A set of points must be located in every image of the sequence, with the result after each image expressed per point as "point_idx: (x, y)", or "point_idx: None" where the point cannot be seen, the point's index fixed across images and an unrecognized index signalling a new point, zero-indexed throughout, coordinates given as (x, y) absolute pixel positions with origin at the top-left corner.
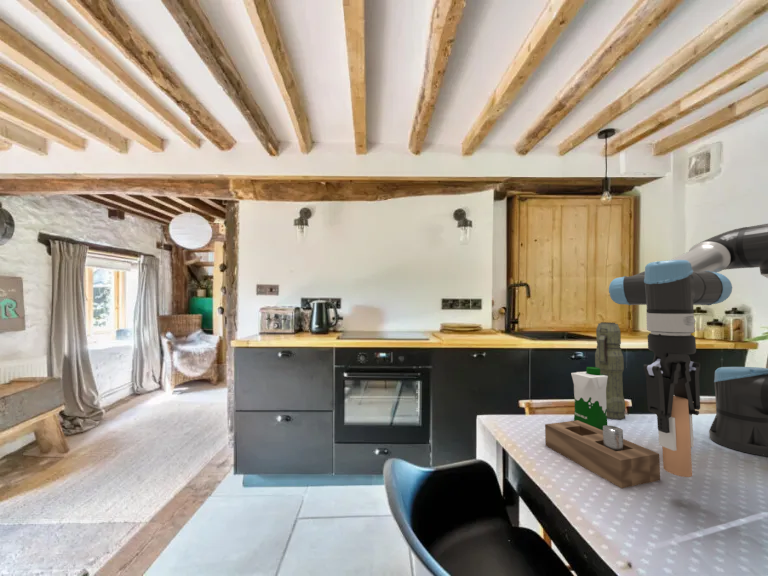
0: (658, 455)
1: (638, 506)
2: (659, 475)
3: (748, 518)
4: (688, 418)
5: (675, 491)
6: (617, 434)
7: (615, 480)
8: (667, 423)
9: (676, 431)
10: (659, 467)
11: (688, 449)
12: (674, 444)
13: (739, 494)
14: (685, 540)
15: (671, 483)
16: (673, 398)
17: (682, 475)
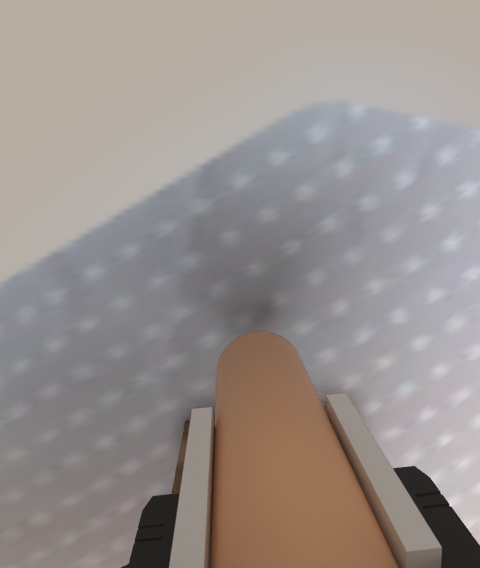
0: (177, 488)
1: (363, 347)
2: (184, 438)
3: (104, 251)
4: (278, 527)
5: (176, 386)
6: None
7: None
8: (432, 519)
9: (345, 464)
10: (180, 456)
11: (271, 383)
12: (351, 410)
13: None
14: (389, 214)
15: (143, 421)
16: None
17: (284, 340)
